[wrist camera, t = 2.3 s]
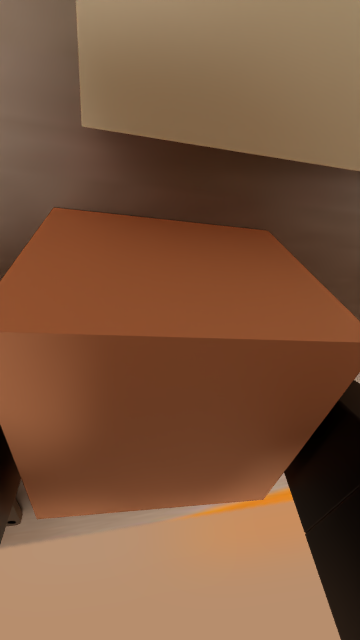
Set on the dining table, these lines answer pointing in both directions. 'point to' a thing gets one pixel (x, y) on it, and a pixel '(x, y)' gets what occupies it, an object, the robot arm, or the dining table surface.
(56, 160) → the dining table surface
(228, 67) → the cream flat block
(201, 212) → the dining table surface
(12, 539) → the dining table surface
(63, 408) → the brick
